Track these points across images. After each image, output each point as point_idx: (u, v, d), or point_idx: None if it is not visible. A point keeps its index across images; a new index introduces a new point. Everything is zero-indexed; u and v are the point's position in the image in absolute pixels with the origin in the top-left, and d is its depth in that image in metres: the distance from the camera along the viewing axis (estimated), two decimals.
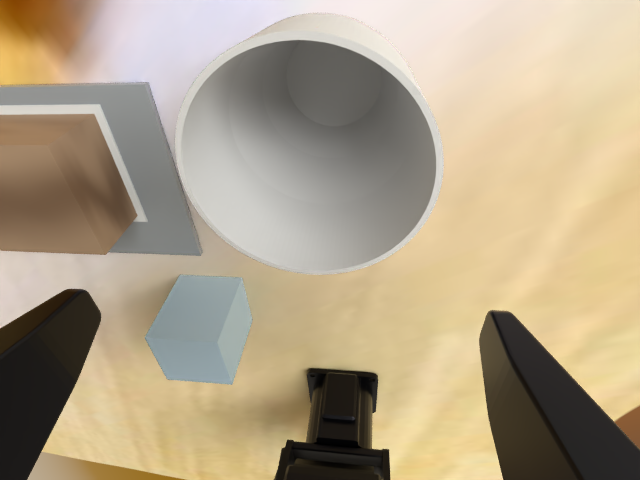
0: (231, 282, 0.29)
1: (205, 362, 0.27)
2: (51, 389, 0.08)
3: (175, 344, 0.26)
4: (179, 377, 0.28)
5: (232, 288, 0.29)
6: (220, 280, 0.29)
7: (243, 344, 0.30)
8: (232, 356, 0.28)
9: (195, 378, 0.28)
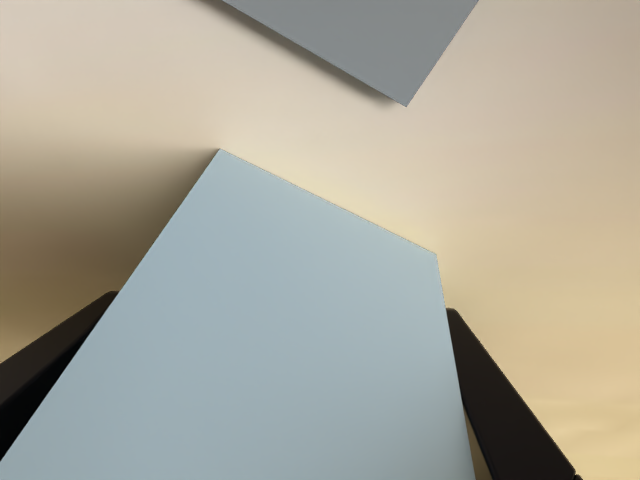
0: (412, 261, 0.08)
1: None
2: None
3: None
4: None
5: (426, 287, 0.07)
6: (373, 237, 0.08)
7: None
8: None
9: None
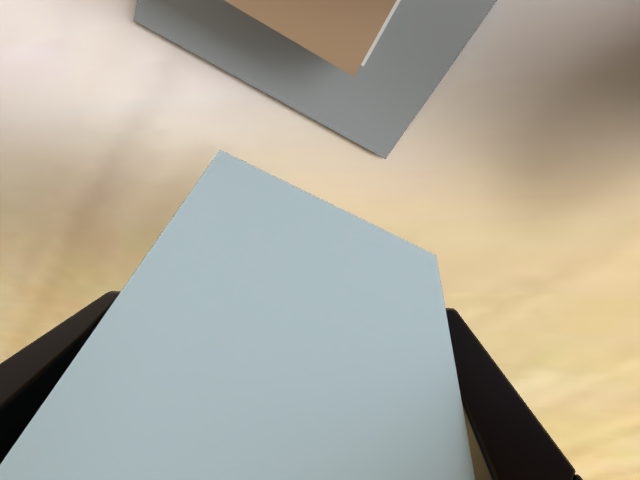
0: (413, 262, 0.08)
1: None
2: None
3: None
4: None
5: (426, 288, 0.07)
6: (373, 238, 0.08)
7: None
8: None
9: None
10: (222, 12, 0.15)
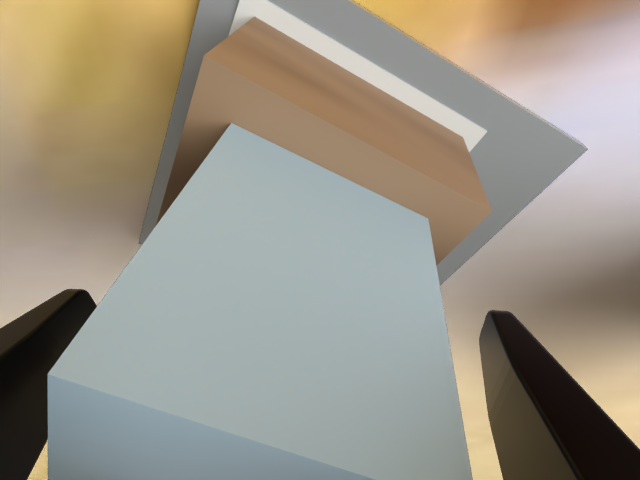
0: (406, 222, 0.09)
1: None
2: None
3: (233, 454, 0.04)
4: None
5: (418, 244, 0.08)
6: (370, 201, 0.09)
7: None
8: None
9: None
10: None
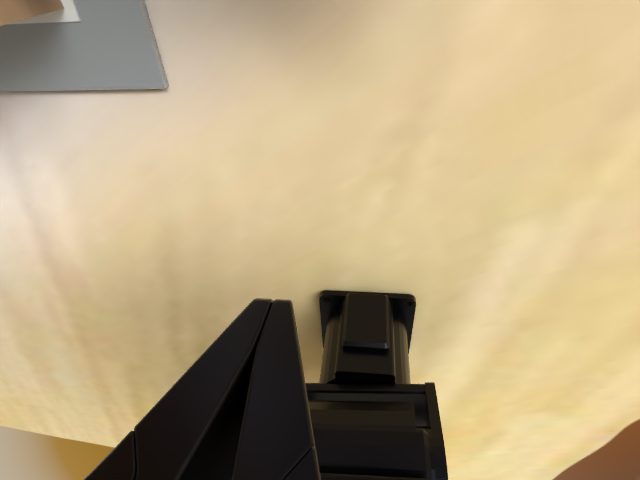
0: None
1: None
2: None
3: None
4: None
5: None
6: None
7: None
8: None
9: None
10: None
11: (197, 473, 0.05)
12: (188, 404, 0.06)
